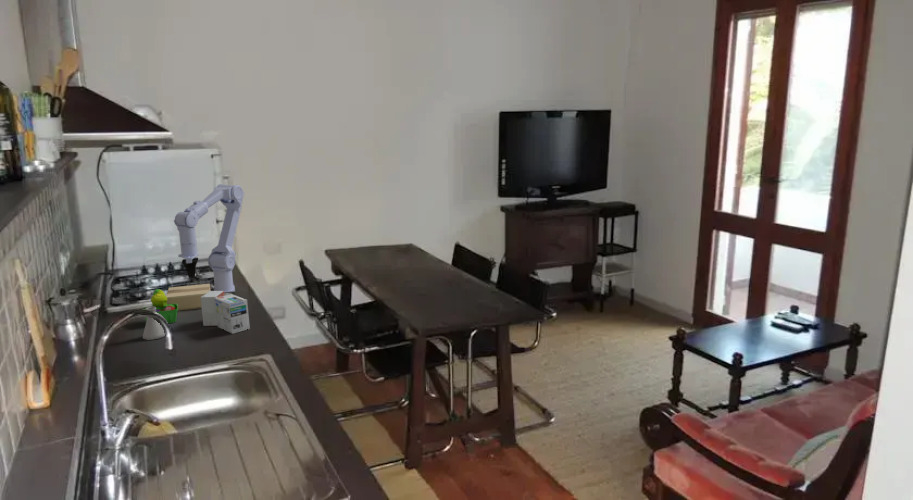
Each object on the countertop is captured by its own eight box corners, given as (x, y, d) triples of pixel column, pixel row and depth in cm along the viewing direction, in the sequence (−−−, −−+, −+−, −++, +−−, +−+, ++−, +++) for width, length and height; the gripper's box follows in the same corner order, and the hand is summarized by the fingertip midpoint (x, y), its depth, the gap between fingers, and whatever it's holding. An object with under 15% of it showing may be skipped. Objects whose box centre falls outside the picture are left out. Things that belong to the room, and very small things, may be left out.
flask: (161, 331, 219) (157, 303, 216) (169, 336, 214) (166, 307, 211) (139, 336, 214) (135, 308, 211) (147, 342, 209) (143, 312, 206)
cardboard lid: (169, 289, 251) (168, 287, 251) (210, 285, 256) (209, 283, 256) (166, 299, 238) (165, 297, 238) (209, 294, 243) (209, 292, 243)
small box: (218, 326, 223) (216, 297, 221) (203, 326, 223) (199, 297, 221) (227, 318, 231) (224, 290, 229) (212, 318, 231) (209, 290, 229)
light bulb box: (250, 329, 220) (247, 299, 217) (232, 334, 215) (229, 303, 212) (234, 322, 227) (232, 293, 224) (216, 327, 222) (213, 297, 220)
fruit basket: (144, 327, 222) (140, 296, 220) (144, 320, 230) (140, 289, 228) (179, 322, 227) (176, 292, 225) (179, 315, 235) (175, 285, 232)
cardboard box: (170, 301, 252) (169, 289, 251) (211, 297, 257) (210, 285, 256) (167, 311, 239) (166, 299, 238) (210, 307, 244) (209, 294, 243)
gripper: (178, 240, 251) (182, 273, 254) (175, 247, 238) (179, 282, 241) (197, 238, 254) (201, 272, 257) (196, 246, 240) (199, 281, 243)
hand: (192, 277), depth 249 cm, fingers closed
